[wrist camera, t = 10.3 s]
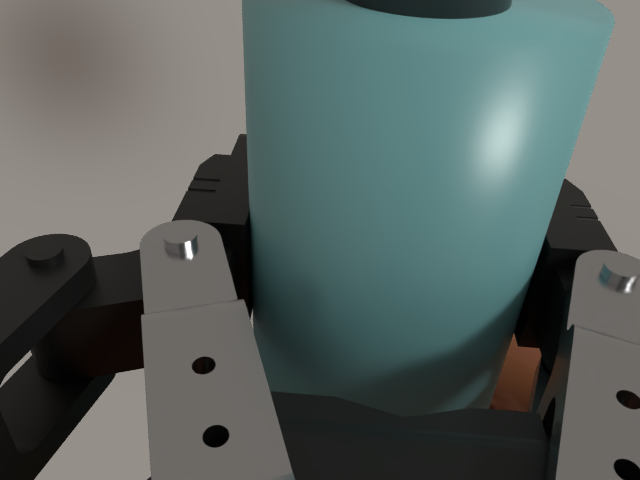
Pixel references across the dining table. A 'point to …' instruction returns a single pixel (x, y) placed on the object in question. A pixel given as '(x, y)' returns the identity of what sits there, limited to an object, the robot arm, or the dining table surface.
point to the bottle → (406, 185)
